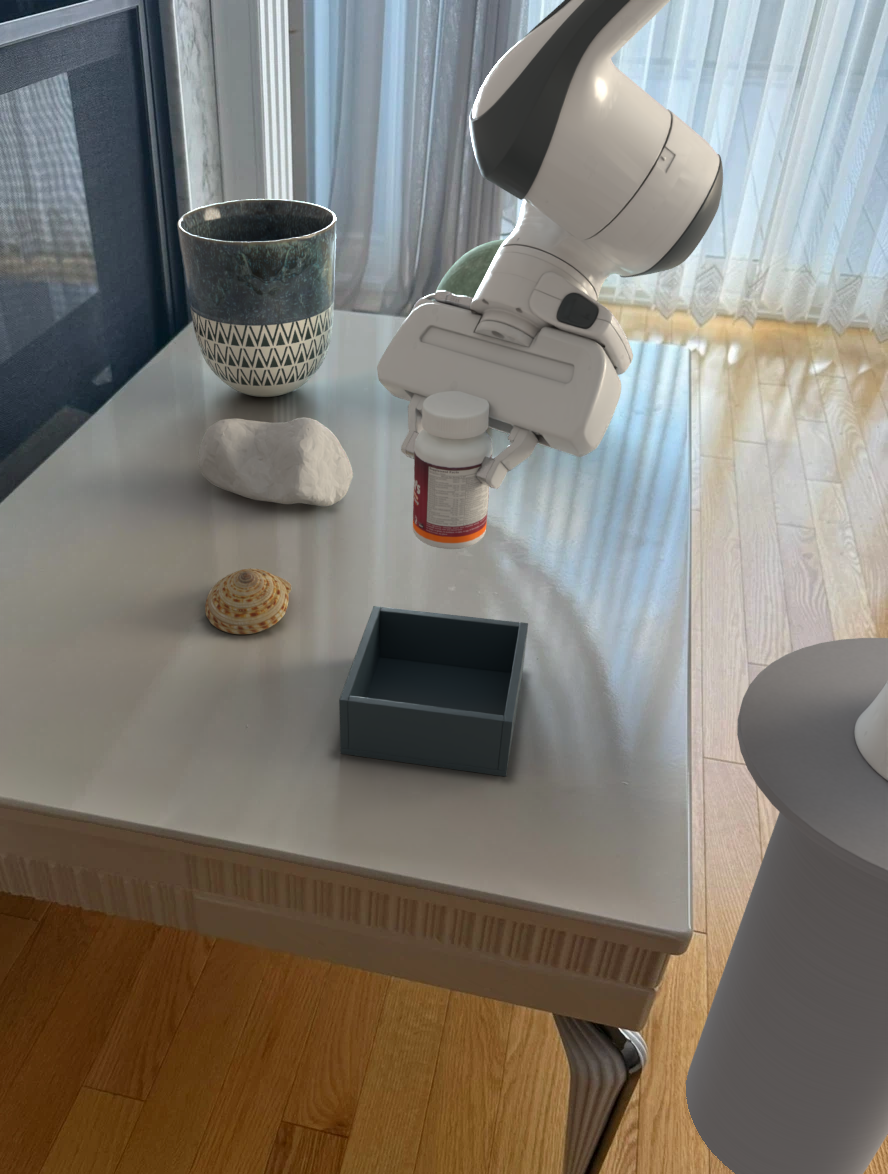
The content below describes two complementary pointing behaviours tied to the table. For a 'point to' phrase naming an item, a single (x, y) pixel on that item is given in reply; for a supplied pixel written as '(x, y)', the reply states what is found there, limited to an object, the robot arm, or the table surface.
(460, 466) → the pill bottle
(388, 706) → the bin
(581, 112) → the robot arm
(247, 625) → the seashell
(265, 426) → the decorative stone
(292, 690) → the table surface
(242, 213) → the planter
